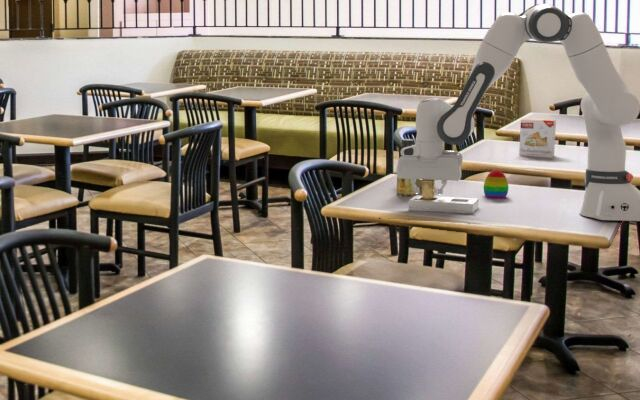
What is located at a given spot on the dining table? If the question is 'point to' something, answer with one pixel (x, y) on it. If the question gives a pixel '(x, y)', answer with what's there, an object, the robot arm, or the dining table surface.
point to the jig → (444, 204)
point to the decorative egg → (496, 185)
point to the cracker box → (537, 138)
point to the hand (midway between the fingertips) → (428, 193)
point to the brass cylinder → (428, 189)
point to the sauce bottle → (404, 184)
